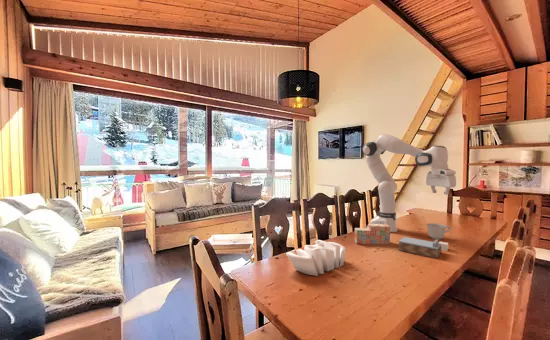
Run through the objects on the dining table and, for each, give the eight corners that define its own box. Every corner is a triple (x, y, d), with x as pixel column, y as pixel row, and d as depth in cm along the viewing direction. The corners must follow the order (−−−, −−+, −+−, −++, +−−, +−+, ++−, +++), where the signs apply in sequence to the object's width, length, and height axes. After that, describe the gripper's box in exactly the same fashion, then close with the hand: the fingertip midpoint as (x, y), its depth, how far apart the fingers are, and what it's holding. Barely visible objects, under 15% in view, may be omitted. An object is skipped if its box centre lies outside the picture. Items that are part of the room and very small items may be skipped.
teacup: (455, 242, 167) (455, 227, 166) (432, 242, 167) (432, 227, 167) (443, 236, 179) (443, 223, 178) (422, 237, 179) (422, 223, 179)
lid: (441, 244, 147) (441, 240, 147) (437, 249, 139) (437, 244, 139) (404, 237, 160) (404, 233, 160) (398, 242, 152) (399, 237, 152)
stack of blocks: (356, 244, 165) (356, 225, 165) (354, 241, 172) (354, 223, 171) (390, 244, 163) (390, 226, 163) (386, 241, 170) (386, 223, 169)
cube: (438, 250, 152) (438, 243, 152) (439, 248, 156) (439, 241, 156) (447, 252, 149) (447, 244, 149) (448, 250, 153) (448, 242, 153)
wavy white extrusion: (304, 280, 115) (304, 258, 115) (283, 268, 129) (283, 248, 129) (353, 263, 135) (353, 243, 134) (330, 253, 149) (330, 236, 148)
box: (441, 253, 147) (441, 245, 147) (437, 259, 138) (437, 250, 138) (404, 245, 161) (404, 238, 161) (398, 251, 152) (398, 242, 152)
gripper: (423, 171, 166) (423, 192, 166) (448, 172, 145) (448, 195, 146) (431, 171, 166) (432, 191, 167) (458, 171, 146) (458, 195, 146)
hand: (440, 193), depth 156 cm, fingers open, 8 cm apart
